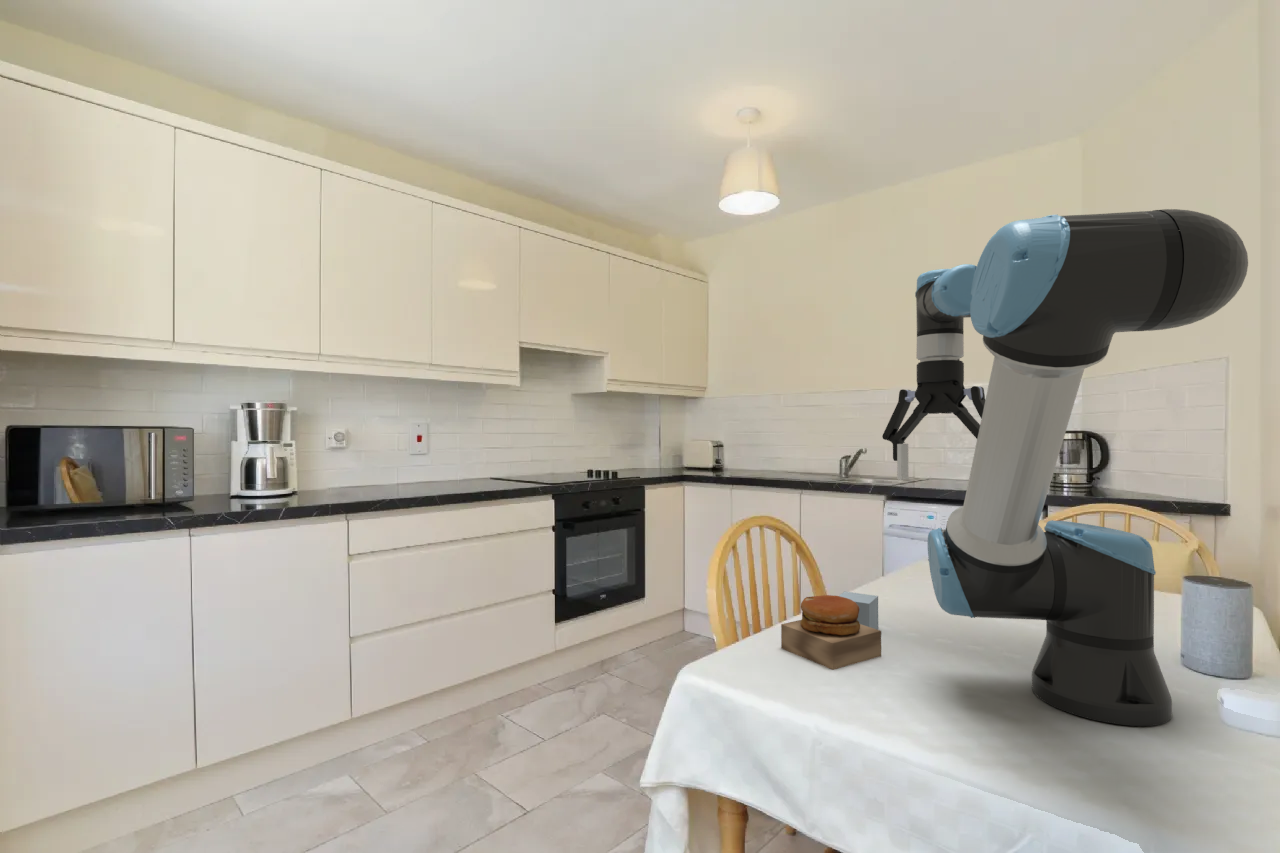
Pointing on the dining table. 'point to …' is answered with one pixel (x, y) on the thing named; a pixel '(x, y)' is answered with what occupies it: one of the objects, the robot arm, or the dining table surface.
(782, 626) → the walnut block
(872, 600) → the slate cube
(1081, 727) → the dining table surface
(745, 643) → the dining table surface
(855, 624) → the burger
